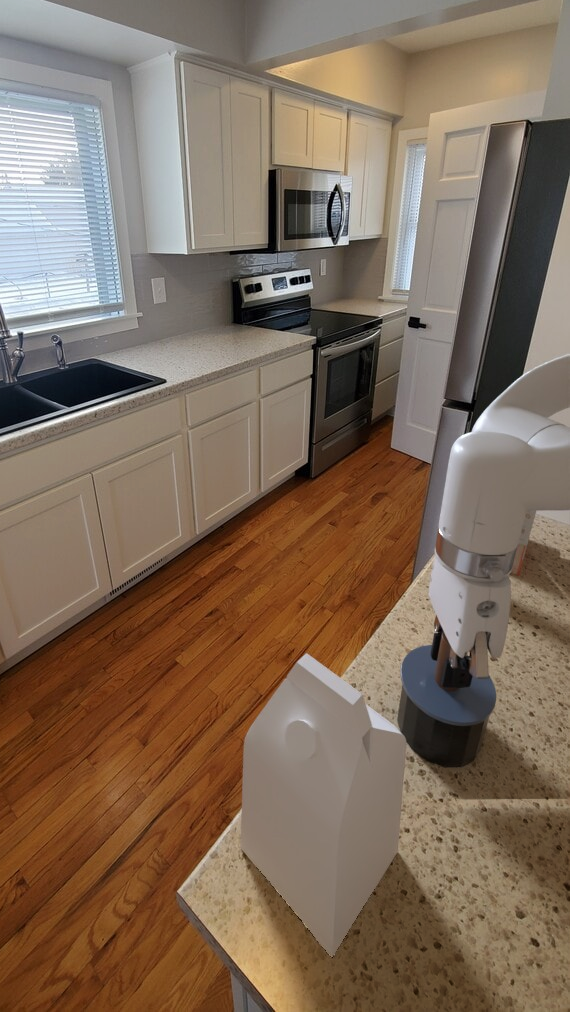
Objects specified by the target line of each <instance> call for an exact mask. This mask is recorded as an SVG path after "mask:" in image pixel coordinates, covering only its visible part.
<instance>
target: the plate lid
mask: <svg viewBox="0 0 570 1012" xmlns="http://www.w3.org/2000/svg"><path fill="white" fill-rule="evenodd" d="M431 648H432V644H426V645H420V646H417V647H415V648H413V649H412V650H410V651H409V652H407V654H406V655H405V656H404V658H403V660H402V662H401V666H400V681H401V686H402V685H403V687H404V690H405V691H406V693H407V695H408V696H409V698H410V699H411V700H412V702H413V703H414V704H415V705H416V706H417V707H418V708H419V709H421V710H422V711H423V712H425V713H426V714H428V715H429V716H431V717H433V718H435V719H437V720H439V721H441V722H444V723H447V724H451V725H457V726H470V725H475V724H478V723H481V722H483V721H484V720H486V719H487V718H488V717H489V718H490V716H491V715H492V713H493V712H494V710H495V707H496V703H497V691H496V686H495V684H494V682H493V680H492V677H491V676H490V675H489V678H488V679H475V678H474V677H472V681H471V685H470V687H464V688H445V687H443V685H442V683H441V680H442V675H443V670H444V665H445V660H446V659H449V657H450V650H451V645H450V643H449V641H448V639H447V637H446V635H445V633H444V631H443V633H442V637H441V642H440V647H439V653H438V658H437V661H434V660H433V659H432V658H431V655H430V654H431ZM465 656H469V655H468V653H467V652H465Z"/></svg>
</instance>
